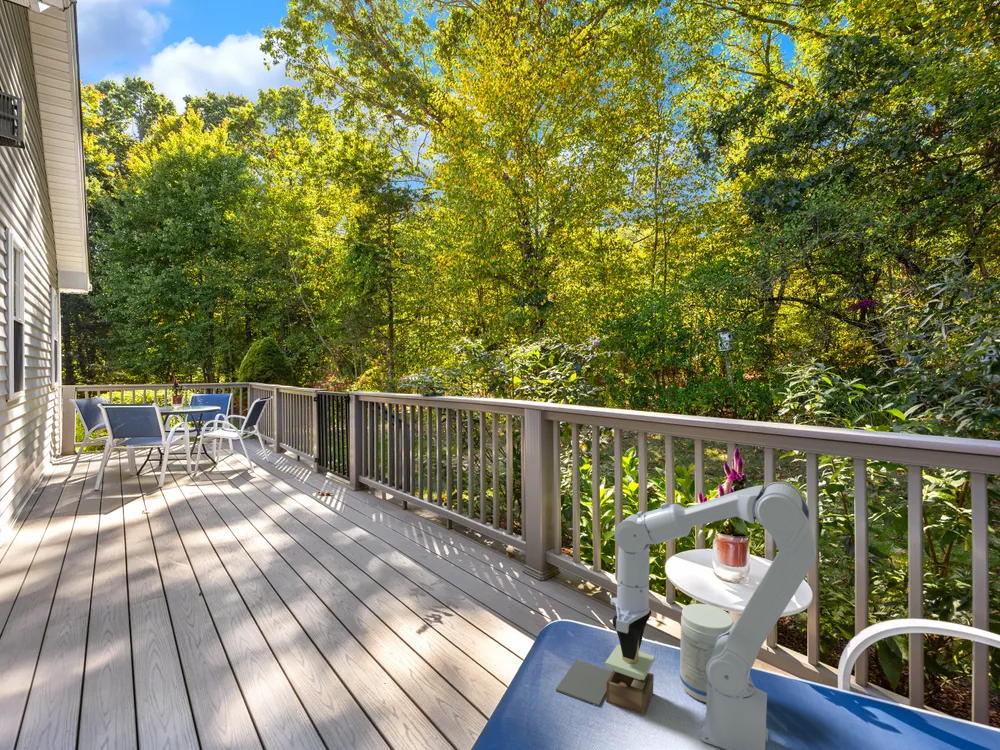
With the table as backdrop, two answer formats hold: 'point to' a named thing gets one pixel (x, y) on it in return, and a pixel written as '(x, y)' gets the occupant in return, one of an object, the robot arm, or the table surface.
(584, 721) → the table surface
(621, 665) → the lid
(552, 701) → the table surface
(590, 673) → the mat
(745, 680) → the robot arm
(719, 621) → the supplement tub
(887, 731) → the table surface
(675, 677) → the table surface
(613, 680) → the box
